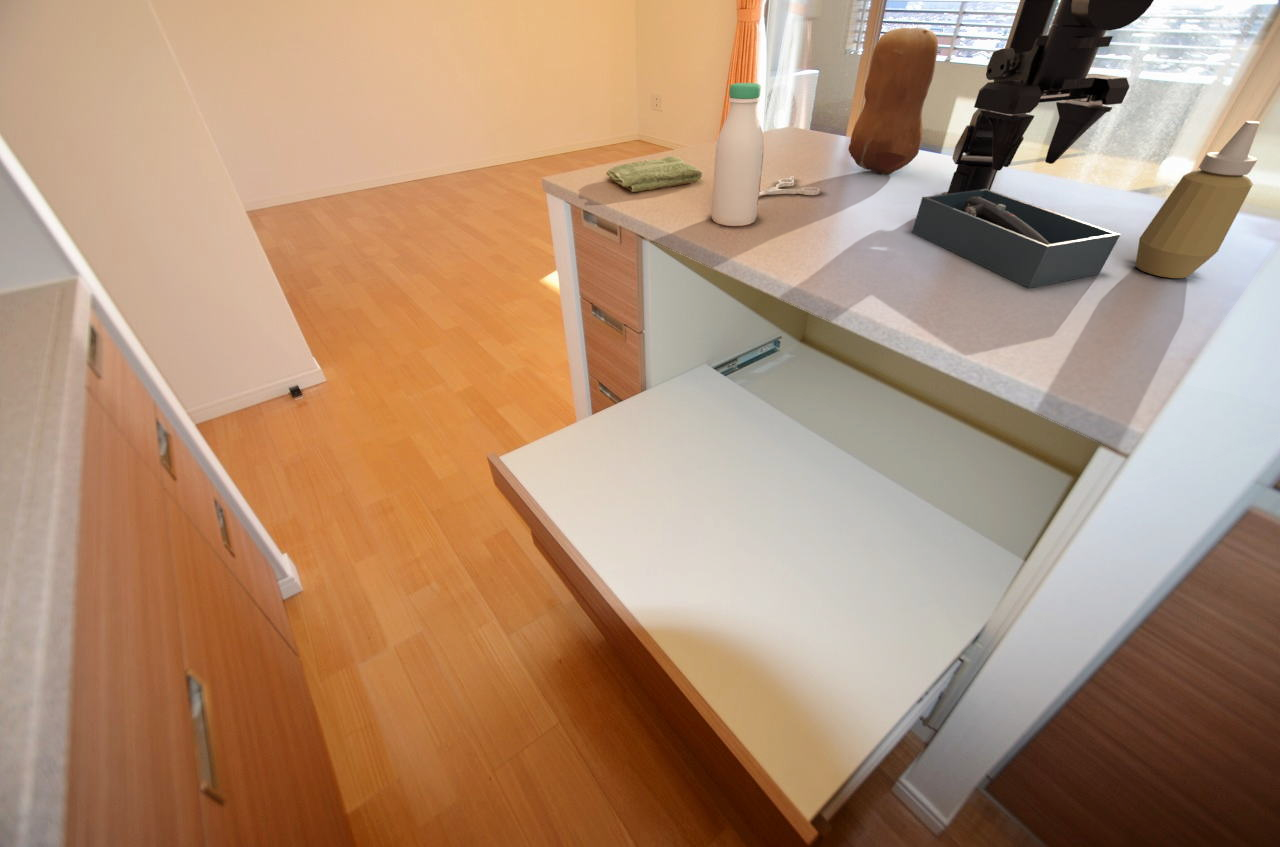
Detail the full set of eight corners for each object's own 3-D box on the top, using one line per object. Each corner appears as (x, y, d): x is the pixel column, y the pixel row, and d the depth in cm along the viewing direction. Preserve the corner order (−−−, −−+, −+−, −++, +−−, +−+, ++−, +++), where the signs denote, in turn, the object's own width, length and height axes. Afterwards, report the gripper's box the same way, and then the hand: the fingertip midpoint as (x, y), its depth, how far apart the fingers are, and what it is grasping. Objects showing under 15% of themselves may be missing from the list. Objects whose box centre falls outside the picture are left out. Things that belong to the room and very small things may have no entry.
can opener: (942, 229, 86) (954, 192, 82) (983, 227, 86) (997, 190, 83) (1012, 274, 72) (1030, 232, 69) (1061, 271, 73) (1082, 229, 69)
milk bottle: (755, 228, 89) (771, 87, 77) (708, 226, 91) (717, 87, 78) (756, 213, 95) (772, 80, 83) (713, 211, 96) (721, 80, 84)
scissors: (829, 188, 103) (745, 204, 96) (828, 192, 104) (744, 208, 97) (792, 176, 111) (711, 190, 104) (791, 180, 111) (711, 194, 104)
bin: (972, 223, 89) (985, 188, 86) (1098, 274, 73) (1120, 234, 69) (911, 232, 86) (922, 197, 83) (1028, 288, 70) (1047, 246, 66)
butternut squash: (892, 162, 121) (927, 24, 105) (924, 178, 111) (969, 27, 95) (833, 165, 120) (860, 26, 104) (860, 182, 109) (895, 30, 94)
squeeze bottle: (1110, 261, 76) (1189, 117, 65) (1164, 258, 77) (1251, 114, 65) (1158, 285, 70) (1254, 130, 59) (1216, 281, 70) (1322, 127, 59)
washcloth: (603, 178, 115) (602, 162, 113) (678, 169, 120) (678, 153, 118) (625, 195, 105) (624, 177, 103) (705, 184, 110) (706, 167, 108)
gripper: (1077, 19, 72) (1026, 147, 82) (964, 25, 68) (925, 159, 78) (1163, 23, 64) (1095, 165, 74) (1040, 30, 59) (986, 179, 69)
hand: (1023, 166), depth 74 cm, fingers open, 9 cm apart
